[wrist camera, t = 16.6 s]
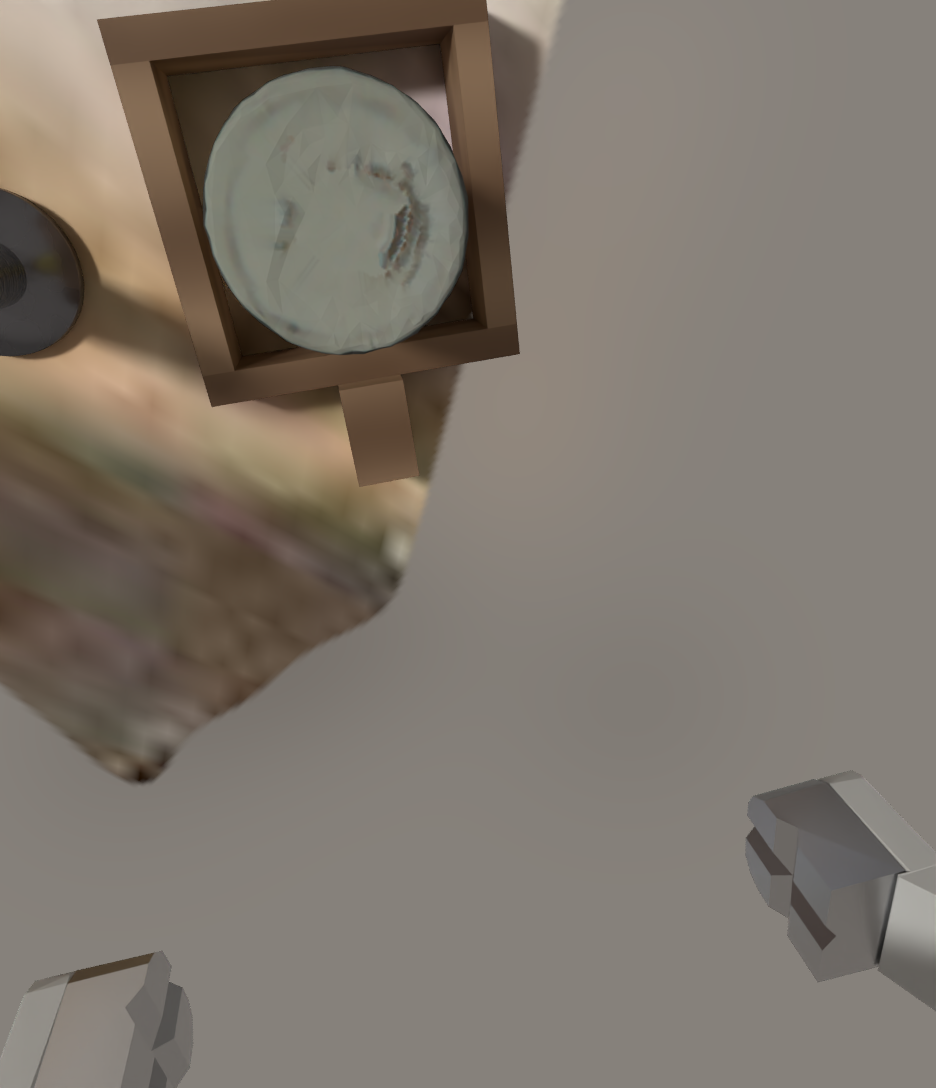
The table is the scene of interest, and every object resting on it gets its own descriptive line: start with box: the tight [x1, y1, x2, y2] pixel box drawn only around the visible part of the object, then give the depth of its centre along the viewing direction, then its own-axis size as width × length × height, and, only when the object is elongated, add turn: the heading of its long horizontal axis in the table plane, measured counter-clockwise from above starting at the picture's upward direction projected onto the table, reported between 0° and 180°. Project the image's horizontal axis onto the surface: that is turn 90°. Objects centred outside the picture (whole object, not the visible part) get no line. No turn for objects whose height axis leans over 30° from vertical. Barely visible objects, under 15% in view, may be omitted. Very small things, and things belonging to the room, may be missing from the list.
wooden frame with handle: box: [97, 0, 520, 487], centre depth 27 cm, size 16×12×4 cm
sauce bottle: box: [203, 66, 469, 355], centre depth 20 cm, size 7×6×20 cm
